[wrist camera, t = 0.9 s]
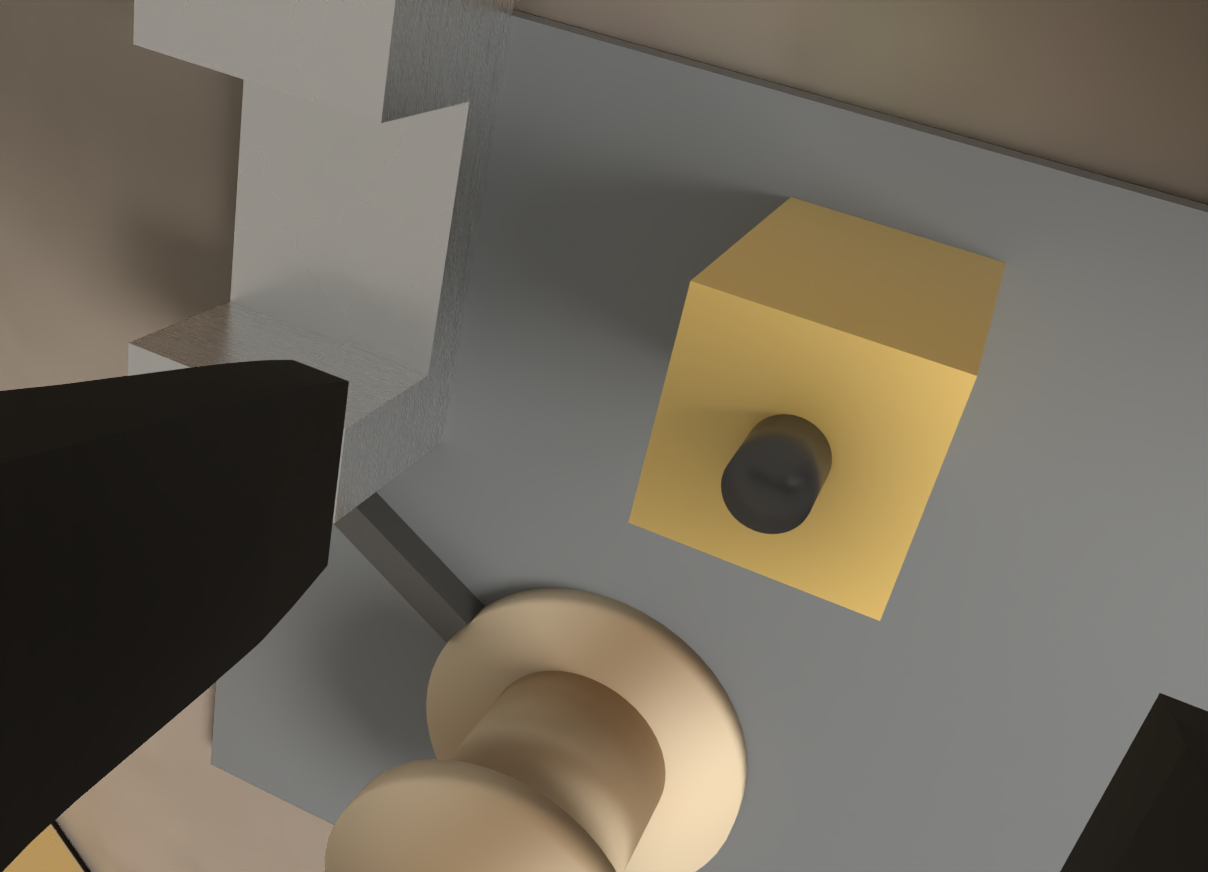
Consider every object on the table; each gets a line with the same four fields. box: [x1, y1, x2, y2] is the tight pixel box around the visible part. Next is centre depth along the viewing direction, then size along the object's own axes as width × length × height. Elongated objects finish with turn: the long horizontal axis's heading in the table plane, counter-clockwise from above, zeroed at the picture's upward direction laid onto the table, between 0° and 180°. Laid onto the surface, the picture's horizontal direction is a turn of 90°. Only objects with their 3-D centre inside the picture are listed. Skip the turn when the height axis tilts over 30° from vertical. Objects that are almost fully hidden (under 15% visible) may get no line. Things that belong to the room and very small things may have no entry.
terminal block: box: [128, 0, 514, 523], centre depth 18 cm, size 4×8×4 cm, turn 167°
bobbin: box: [325, 588, 748, 872], centre depth 20 cm, size 6×6×5 cm
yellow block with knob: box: [628, 197, 1006, 621], centre depth 15 cm, size 3×3×6 cm
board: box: [211, 10, 1208, 872], centre depth 20 cm, size 18×18×1 cm
